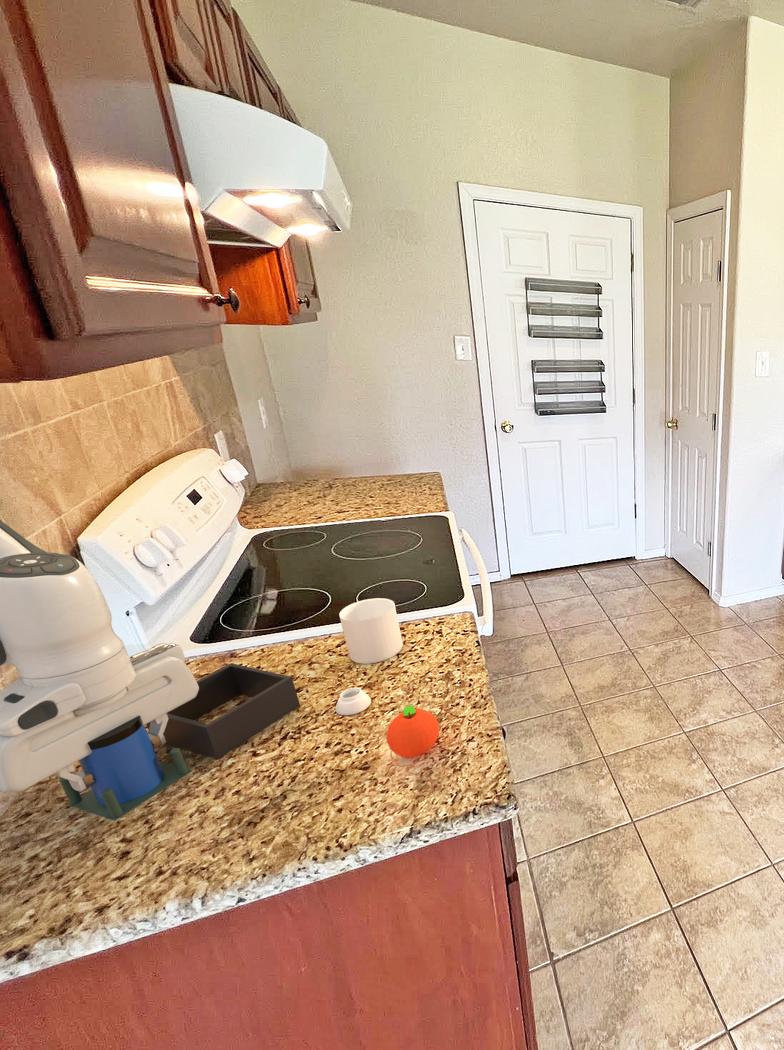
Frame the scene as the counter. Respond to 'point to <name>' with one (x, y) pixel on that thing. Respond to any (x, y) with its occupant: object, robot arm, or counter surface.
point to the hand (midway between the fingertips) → (122, 765)
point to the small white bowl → (352, 702)
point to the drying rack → (112, 806)
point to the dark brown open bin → (237, 725)
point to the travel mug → (123, 762)
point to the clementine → (412, 732)
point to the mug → (371, 630)
